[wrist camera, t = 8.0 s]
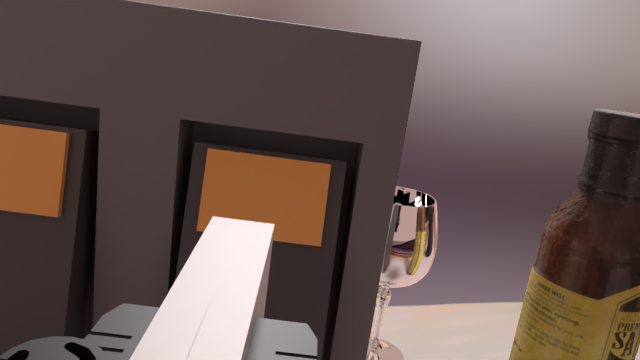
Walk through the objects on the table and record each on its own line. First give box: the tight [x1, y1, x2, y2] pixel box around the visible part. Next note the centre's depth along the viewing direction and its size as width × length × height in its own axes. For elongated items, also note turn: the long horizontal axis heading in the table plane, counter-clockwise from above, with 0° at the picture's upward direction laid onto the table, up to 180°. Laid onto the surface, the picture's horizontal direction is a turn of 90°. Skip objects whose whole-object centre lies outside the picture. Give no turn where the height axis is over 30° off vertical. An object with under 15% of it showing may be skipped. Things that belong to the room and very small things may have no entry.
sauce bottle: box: [509, 109, 640, 360], centre depth 32 cm, size 7×6×20 cm
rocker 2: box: [175, 142, 347, 360], centre depth 23 cm, size 6×2×10 cm, turn 90°
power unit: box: [0, 0, 421, 360], centre depth 27 cm, size 20×8×22 cm, turn 90°
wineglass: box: [366, 186, 437, 360], centre depth 39 cm, size 6×6×12 cm
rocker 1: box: [0, 118, 99, 356], centre depth 23 cm, size 6×2×10 cm, turn 90°
